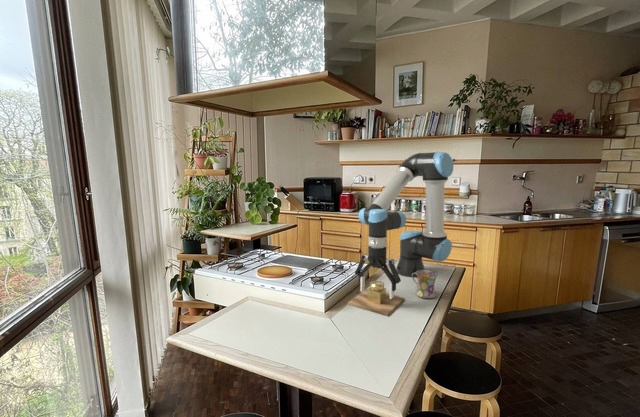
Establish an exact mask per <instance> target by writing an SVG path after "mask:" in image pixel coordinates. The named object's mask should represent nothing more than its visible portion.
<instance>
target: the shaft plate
mask: <svg viewBox="0 0 640 417" xmlns="http://www.w3.org/2000/svg"><path fill="white" fill-rule="evenodd" d="M368 289H369V288H365V290H364V291H362V292H360V293H359V294H358V295H356V296H355V297H353V298H352V299H351V300H349V301H348V302H347V305H348V306H351V307H355V308H357V309H361V310H365V311H367V312H368V311H369V312H372V313H376V314H378V315H382V316H386V317H388V316H390V315H391V314H392V313H393V312H394V311H395V310H396V309H397V308H398V307H400V305H401V304H402V303H403V302H404V301H405V297H403V296H399V295H395V294H394V297H393V298H392V299H390V293H387V292H386V300H385V301H384V302H382V303H381V304H377V303H373V302H369V301H367V290H368Z"/></svg>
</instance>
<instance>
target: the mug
mask: <svg viewBox="0 0 640 417" xmlns="http://www.w3.org/2000/svg"><path fill="white" fill-rule="evenodd" d="M413 274H416V275H417V277H416V278H417V281H418V282H417V281H416V279H415V277H413ZM438 275H439V274H438V273H437V272H436V271H433V270H428V269H425V270H418V271H416V273H412V277H411V278H412V280H413V282H414V283H415V284H416V285H417V286H416V287H417V290H416V291H415V294H416V296H418V297H419V298H422V299H433V298H435V297H436V296H437V294H436V291H435V282H436V279H437V278H438Z"/></svg>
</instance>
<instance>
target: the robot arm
mask: <svg viewBox="0 0 640 417" xmlns="http://www.w3.org/2000/svg"><path fill="white" fill-rule="evenodd" d="M453 172H454V161H453V158H452V156H451V155H450V154H449V153H447V152H443V151H436V152H418V153H414V154H411V156H409V157H407V158H406V159H405V160H404V161H403V162H402V163H401V164H400V165H399V166H398V167H397V168H396V171H395V174H394V175H393V177H391V179H390V180H389V181H388V183H387V184H386V185H385V186H384V188H383V189H382V190H381V192H379V194H378V195H377V197H376V198H374V200H373V202H371V204H370V205H369V206H368V207H363V208H361V209H360V210H359V212H358V221H359V222H360V223H361V224H363V225H367V226H368V243H367V244H368V248H367V250H368V252H367V253H368V255H367V254H366V253H365V254H362V255H361V259H360V262H359V263H358V265H357V267H356V269H355V272H354V274H355V275H357V276H358V283H359V284H360V290H359V292H360V293H362V292H364V291H365V290H366V276H365V275H364V274H365V273H366V272H368V270H369V269H371V267H372V268H376V269H380V270H382V271H383V273H384V274H385V276H386V277H387V278H388V280H389V281H390V283H389V294H390V299H392V298H393V297H394V295H395V291H397V284H400V282H402V279H401V277H400V275H401V276H404V277H409V278H412V273H416V271H418V270H426V269H425V265H424V261H423V259H424V258H425V259H428V260H432V261H434V262H444V261H446V260H447V259H448V258H449V256H450V254H451V251H452V247H453V244H452V243H453V242H452V241H451V240H450V239H449V238H448V233H447V232H446V231H444V230H445V225H444V224H445V184H446V182H448V181H449V177H450V176H452V175H453ZM417 177H422V182H424V184H425V230H424V231H422V230H406V231H403V232H400V233H401V234H400V239H399V245H400V246H399V259H398V263H397V265H396V266H395V260H394V259H393V258H389V259H387V242H388V241H387V240H388V239H387V236H388V231H392V230H399V229H401V228H403V227H404V226H405V225H406V223H407V217H406V214H405V213H404V212H403V211H397V210H395V211H389V210H388V209H389V208H390V207H391V205H392V204H393V202H395V200H396V199H397V197H398V196H399V195H400V194H401V193H402V191H403V190H404V188H405V187H406V186H407V185H408V183H409V182H412V181H413V180H414V178H417ZM366 261H368V263H367V265H366V266H365V267H364V265H365V263H366ZM363 267H364V268H363ZM413 278H417V275H416V274H413Z"/></svg>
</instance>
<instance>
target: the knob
mask: <svg viewBox="0 0 640 417" xmlns="http://www.w3.org/2000/svg"><path fill="white" fill-rule="evenodd" d="M367 289H368V290H367V301H369V302H373V303H377V304H381V303H382V302H384V301H385V300H386V293H387V288H386V287H385V282H383V281H379V280H372V281H370V282H369V288H367Z"/></svg>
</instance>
